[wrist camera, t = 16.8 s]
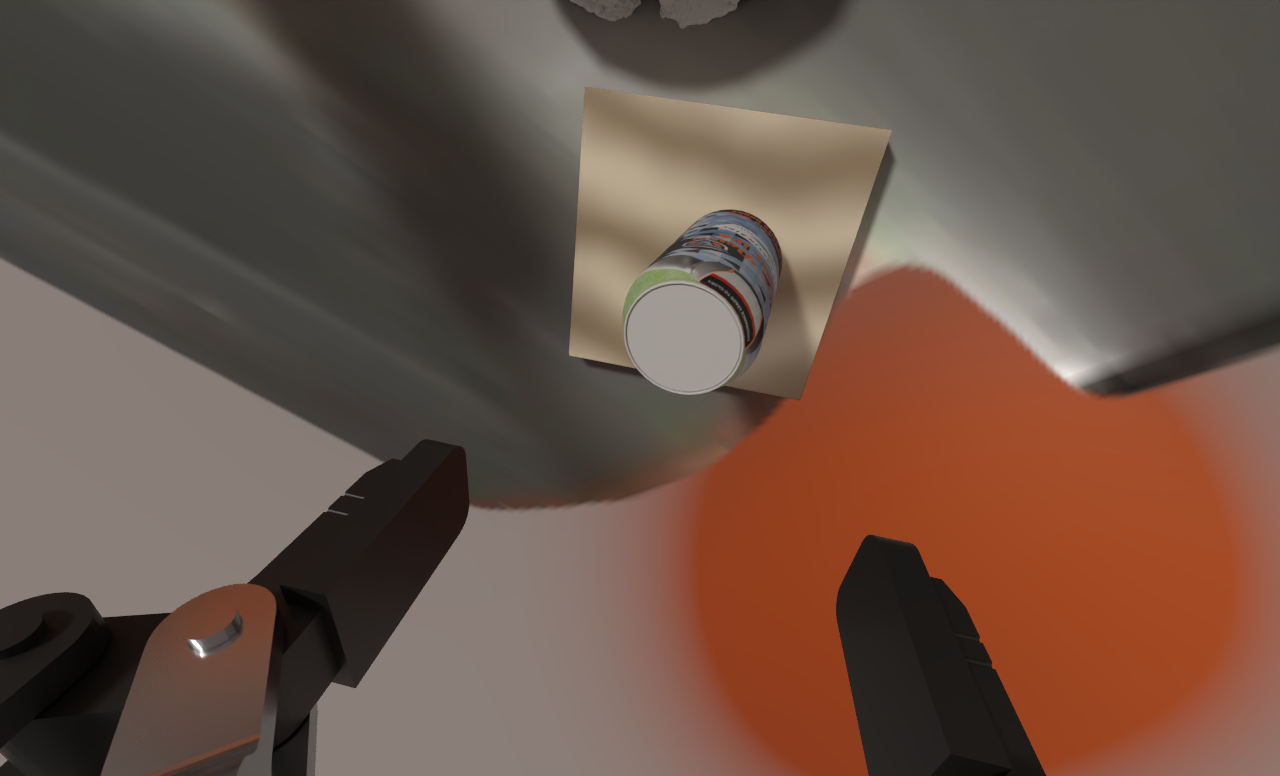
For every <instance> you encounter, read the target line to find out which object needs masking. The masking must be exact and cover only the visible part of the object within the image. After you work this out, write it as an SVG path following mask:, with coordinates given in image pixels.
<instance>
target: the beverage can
mask: <svg viewBox="0 0 1280 776" xmlns="http://www.w3.org/2000/svg"><path fill="white" fill-rule="evenodd" d="M781 270H782V254H781V248H780V246H779V243H778V240H777V238H776V236H775V235H774V233H773V231H772V230H771V229H770V228H769V227H768V225H767V224H765V223H764V222H763V221H762V220H761V219H759V218H758V217H756V216H754V215H752V214H750V213H747V212H744V211H740V210H732V209H729V210H719V211H715V212H712V213H709V214H707V215H705V216H703V217H701V218H700V219H699V220H697V221H696V222H695V223H694V224H693V225H691V226H690V227H689V228H688V229H687V230H686V231H685V232H684V233H683V234H682V235H681V236H680V237H679V238H678V239H677V240H676V241H675V242H674V243H673V244H672V245H671V246H670V247H668V248H667V249H666V250H665V251H664V252H663V253H662V254H661V255H660V256H659V257H658V258H657V259H656V260H655V261H654V262H653V263H652V264H651V265H650V266H649V267H648V268H646V269H645V270H644V271H643V272H642V273H641V274H640V275H639V276H638V277H637V279H636V280H635V281H634V283H633V284H632V286H631V287H630V289H629V292H628V294H627V296H626V299H625V303H624V307H623V318H622V323H623V331H624V340H625V346H626V349H627V352H628V355H629V357H630V359H631V361H632V362H633V364H634V365H635V367H636V368H637V369H638V371H639V372H640V373H641V374H642V375H643V376H644V377H645V378H646V379H648V380H649V381H650V382H652V383H653V384H655V385H657V386H658V387H660V388H662V389H665V390H667V391H670V392H673V393H678V394H686V395H694V394H702V393H706V392H710V391H712V390H714V389H717V388H720V387H722V386H724V385H727V384H729V383H731V382H733V381H734V380H736V379H737V378H739V377H740V376H741V375H742V374H743V373H744V372H745V371H746V370H747V369H748V368H749V367H750V366H751V365H752V363H753V362H754V360H755V359H756V357H757V355H758V352H759V350H760V348H761V345H762V341H763V338H764V334H765V330H766V327H767V323H768V319H769V316H770V312H771V308H772V305H773V301H774V297H775V293H776V290H777V286H778V282H779V279H780V275H781Z"/></svg>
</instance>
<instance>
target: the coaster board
mask: <svg viewBox="0 0 1280 776" xmlns="http://www.w3.org/2000/svg"><path fill="white" fill-rule="evenodd" d="M891 132H892V130H885V129H878V128H871V127H864V126H857V125H850V124H843V123H836V122H829V121H822V120H815V119H808V118H801V117H794V116H787V115H780V114H773V113H766V112H759V111H752V110H745V109H738V108H731V107H724V106H717V105H710V104H702V103H695V102H688V101H681V100H674V99H667V98H660V97H653V96H646V95H639V94H632V93H625V92H618V91H611V90H604V89H597V88H590V87H585V94H584V111H583V128H582V144H581V161H580V178H579V195H578V211H577V228H576V245H575V262H574V279H573V295H572V312H571V329H570V346H569V355H570V356H575V357H580V358H585V359H590V360H596V361H601V362H606V363H611V364H616V365H621V366H626V367H631V368H636V367H635V365H634V364H633V362H632V361H631V359H630V357H629V355H628V352H627V349H626V346H625V340H624V331H623V323H622V318H623V307H624V303H625V299H626V296H627V294H628V292H629V289H630V287H631V286H632V284H633V283H634V281H635V280H636V279H637V277H638V276H639V275H640V274H641V273H642V272H643V271H644V270H645V269H646V268H648V267H649V266H650V265H651V264H652V263H653V262H654V261H655V260H656V259H657V258H658V257H659V256H660V255H661V254H662V253H663V252H664V251H665V250H666V249H667V248H668V247H670V246H671V245H672V244H673V243H674V242H675V241H676V240H677V239H678V238H679V237H680V236H681V235H682V234H683V233H684V232H685V231H686V230H687V229H688V228H689V227H690V226H691V225H693V224H694V223H695V222H696V221H697V220H699V219H700V218H701V217H703V216H705V215H707V214H709V213H712V212H715V211H719V210H729V209H732V210H740V211H744V212H747V213H750V214H752V215H754V216H756V217H758V218H759V219H761V220H762V221H763V222H764V223H765V224H767V225H768V227H769V228H770V229H771V230H772V231H773V233H774V235H775V236H776V238H777V240H778V243H779V246H780V248H781V254H782V270H781V275H780V279H779V282H778V286H777V290H776V293H775V297H774V301H773V305H772V308H771V312H770V316H769V319H768V323H767V327H766V330H765V334H764V338H763V341H762V345H761V348H760V350H759V352H758V355H757V357H756V359H755V360H754V362H753V363H752V365H751V366H750V367H749V368H748V369H747V370H746V371H745V372H744V373H743V374H742V375H741V376H740V377H739V378H737V379H736V380H734V381H733V382H731V383H729V384H727V385H724V386H729V387H734V388H739V389H744V390H749V391H754V392H760V393H765V394H770V395H775V396H780V397H785V398H790V399H796V400H800V399H801V396H802V393H803V390H804V387H805V384H806V381H807V378H808V375H809V372H810V370H811V367H812V364H813V361H814V358H815V355H816V352H817V349H818V346H819V343H820V340H821V337H822V334H823V331H824V328H825V326H826V323H827V320H828V317H829V314H830V311H831V308H832V305H833V302H834V299H835V296H836V293H837V290H838V287H839V284H840V282H841V279H842V276H843V273H844V270H845V267H846V264H847V261H848V258H849V255H850V252H851V249H852V246H853V243H854V240H855V238H856V235H857V232H858V229H859V226H860V223H861V220H862V217H863V214H864V211H865V208H866V205H867V202H868V199H869V196H870V194H871V191H872V188H873V185H874V182H875V179H876V176H877V173H878V170H879V167H880V164H881V161H882V158H883V155H884V153H885V150H886V147H887V144H888V141H889V138H890V135H891Z"/></svg>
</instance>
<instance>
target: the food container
mask: <svg viewBox="0 0 1280 776" xmlns="http://www.w3.org/2000/svg"><path fill="white" fill-rule="evenodd" d="M656 1H657V0H656ZM659 1H660V5H661V7H660V9H659V11H660V15H659V16H660V17H661V18H665V17H666V18H669V19H671V18H672V19H674V20H676V21H677V22H678V23H677V24H679V27H680V28H681V29H684V28H685V27H686V26H688V25H697V24H698V25H702V24H707V23H709V22H710V21H711V19H714V18H720V17H723V16H725V15H726V14H727V13H728V12H731V11H734V10H736V8H737V3H738V2H739V1H740V0H659ZM570 2H573V3H575V4H577V5H578V6H582V7H584V8H585V9H586V10H587V11H588V12H590V13H593V12H594V13H595V14H596V15H597V16H599V17H600V18H603V19H607V20H609V21H612V22H613V21H617V20H618V19H622V18H623V17H624V18H628V16H629V17H630V16H631V15H632V13H633V10H635V8H636V7H638V6H639V5H640V4H641V1H640V0H570Z"/></svg>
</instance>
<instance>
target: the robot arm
mask: <svg viewBox="0 0 1280 776" xmlns="http://www.w3.org/2000/svg"><path fill="white" fill-rule="evenodd" d="M468 510H469V491H468V477H467V464H466V453H465V450H464V448H463V447H461V446H457V445H452V444H447V443H442V442H438V441H433V440H428V439H425V440H422V441H421V442H419V443H418V444H417V445H416V446H415V447H414V448H413V449H412V450H411V451H410V452H409V453H408V454H407V455H406V456H405V457H404V458H403V459H402V460H397V459H391V460H389V461H387V462H385V463H383V464H381V465H379V466H377V467H376V468H374V469H372V470H370V471H368V472H366V473H365V474H364V475H363V476H362V477H361V478H359V479H358V481H357V482H355V483H354V484H353V485H352V486H351V487H350V488H349V489H348V490H347V491H346V492H345V495H344V496H340V497H339V498H338V499H337V500H336V501H335V502H334V503H333V504H332V505H331V506H330V507H329V508H328V511H327V512H323V513H322V514H321V515H320V516H319V517H318V518H317V519H316V520H315V521H314V522H313V523H312V524H311V525H310V526H309V527H308V528H306V530H304V531H303V532H302V533H301V534H300V535H299V536H298V537H297V538H296V539H295V540H294V541H293V542H292V543H291V544H289V546H288V547H286V548H285V549H284V550H283V551H282V552H281V553H280V554H279V555H278V556H277V557H276V558H275V559H274V560H273V561H271V562H270V563H269V564H268V565H267V566H266V567H265V568H264V569H263V570H262V571H261V572H260V573H259V574H258V575H257V576H256V577H254V578H253V579H252V580H251V581H250V582H248V583H247V584H233V585H228V586H223V587H220V588H217V589H214V590H211V591H208V592H206V593H203V594H201V595H199V596H198V597H195V598H193V599H191V600H190V601H188V602H186V603H185V604H183V605H181V606H180V607H179V608H177V609H176V610H175V611H174V612H172V613H161V614H147V615H133V616H119V617H105V618H102V616H101V615H100V613H99V612H98V611H97V609H96V608H95V606H94V605H93V604H92V602H91V601H90V599H88V598H87V597H85V596H84V595H81V594H77V593H69V592H64V593H52V594H46V595H41V596H37V597H33V598H29V599H26V600H23V601H20V602H17V603H15V604H12V605H10V606H7V607H5V608H3V609H1V610H0V753H1V754H2V755H3V756H4V757H5V758H6V759H7V760H8V761H7V762H5V763H4V764H3V765H2V766H1V767H0V776H315V761H316V738H317V737H316V736H317V714H318V710H317V701H318V700H319V699H320V697H321V696H322V694H323V693H324V692H325V690H326V688H327V687H328V686H329V685H330V683H331V682H334V683H338V684H342V685H345V686H349V687H353V688H356V687H357V685H358V684H359V682H360V681H361V679H362V678H363V676H364V675H365V673H366V672H367V670H368V669H369V667H370V666H371V664H372V663H373V661H374V660H375V658H376V657H377V656H378V654H379V653H380V651H381V649H382V648H383V647H384V645H385V644H386V642H387V641H388V639H389V638H390V636H391V635H392V633H393V632H394V630H395V629H396V627H397V626H398V624H399V623H400V621H401V620H402V618H403V617H404V615H405V614H406V612H407V611H408V609H409V608H410V606H411V605H412V604H413V602H414V601H415V599H416V598H417V596H418V595H419V593H420V592H421V590H422V589H423V587H424V586H425V584H426V583H427V581H428V580H429V578H430V577H431V575H432V574H433V572H434V571H435V569H436V568H437V566H438V565H439V563H440V562H441V560H442V559H443V557H444V556H445V554H446V553H447V552H448V550H449V549H450V547H451V546H452V544H453V543H454V541H455V540H456V538H457V536H458V535H459V534H460V532H461V530H462V528H463V526H464V524H465V521H466V518H467V515H468ZM836 615H837V623H838V628H839V632H840V638H841V642H842V647H843V652H844V657H845V661H846V667H847V671H848V676H849V681H850V686H851V691H852V696H853V701H854V706H855V710H856V715H857V720H858V725H859V730H860V735H861V740H862V745H863V749H864V754H865V759H866V764H867V769H868V774H869V776H1046V774H1045V772H1044V770H1043V768H1042V766H1041V764H1040V762H1039V760H1038V758H1037V756H1036V754H1035V751H1034V750H1033V747H1032V745H1031V743H1030V741H1029V739H1028V737H1027V735H1026V733H1025V731H1024V729H1023V726H1022V724H1021V722H1020V720H1019V718H1018V716H1017V714H1016V712H1015V709H1014V707H1013V705H1012V703H1011V701H1010V699H1009V697H1008V695H1007V693H1006V691H1005V689H1004V686H1003V684H1002V682H1001V680H1000V678H999V676H998V674H997V672H996V670H995V669H992V661H991V659H990V657H989V655H988V653H987V651H986V649H985V647H984V645H983V643H980V641H979V638H980V636H979V634H978V632H977V630H976V628H975V626H974V624H973V622H972V619H971V617H970V615H969V613H968V611H967V609H966V607H965V606H964V605H963V604H962V602H961V601H960V600H959V599H958V598H957V597H956V596H955V594H954V593H953V592H952V591H951V590H950V588H949V587H948V586H947V585H946V584H945V583H944V581H942V579H937V578H933V577H930V576H929V574H928V571H927V569H926V567H925V564H924V562H923V560H922V558H921V555H920V553H919V551H918V549H917V548H916V546H914V545H913V544H911V543H908V542H903V541H898V540H893V539H888V538H884V537H879V536H874V535H868V536H866V537H865V539H864V540H863V542H862V543H861V546H860V548H859V549H858V552H857V553H856V556H855V557H854V559H853V561H852V564H851V566H850V567H849V569H848V571H847V574H846V575H845V577H844V580H843V581H842V584H841V586H840V588H839V591H838V596H837V603H836Z"/></svg>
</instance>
